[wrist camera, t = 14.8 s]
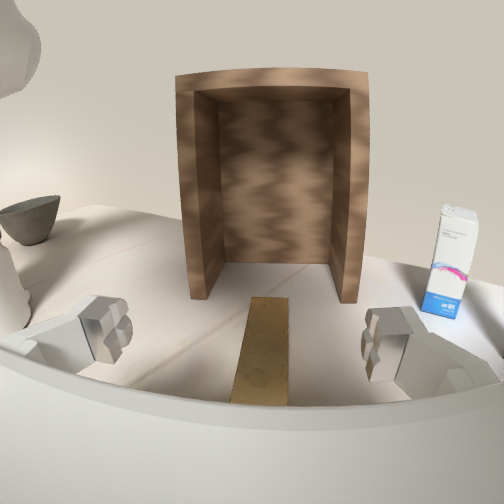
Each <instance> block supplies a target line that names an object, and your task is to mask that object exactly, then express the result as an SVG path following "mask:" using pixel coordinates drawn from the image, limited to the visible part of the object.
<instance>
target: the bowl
mask: <svg viewBox="0 0 504 504" xmlns="http://www.w3.org/2000/svg"><path fill="white" fill-rule="evenodd" d="M59 203H60V196H56V195H55V196H46V197H39V198H35V199H31V200H27V201H24V202H20V203H17V204H14V205H12V206H9V207H7V208H5V209H2V210H1V211H0V224H1V225H2V227H3V229H4V230H5V231H6V232H7V234H8V235H9V236H10V237H12V238H13V239H14V240H15V241H17V242H19V243H21V244H24V245H33V244H37V243H39V242H41V241H43V240H44V239H45V238H46V237H47V236H48V235H49V233H50V231H51V230H52V227H53V225H54V222H55V219H56V215H57V211H58V207H59Z"/></svg>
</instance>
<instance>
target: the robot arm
mask: <svg viewBox="0 0 504 504" xmlns="http://www.w3.org/2000/svg"><path fill="white" fill-rule="evenodd" d="M40 54H41V42H40V37H39V34H38V32H37V30H36V29H35V27H34V26H33V25H32V24H31V23H30V22H29V21H27V20H26V19H25V18H24V17H23V16H22V14H21V13H20V12H19V10H18V9H17V7H16V4H15V2H14V0H0V99H1V98H4V97H6V96H9V95H11V94H13V93H16V92H18V91H21V90H22V89H23V88H24V87H25V86H26V85H27V84H28V83H29V81H30V80H31V78H32V77H33V75H34V73H35V71H36V69H37V66H38V63H39V59H40ZM1 237H2V236H1V231H0V239H1ZM30 297H31V295H30V293H29V291H28V290H27V289H23V287H22V285H21V282H20V279H19V277H18V274H17V271H16V269H15V266H14V263H13V260H12V257H11V254H10V252H9V250H8V248H6V247H5V246H3V245H2V244H1V242H0V504H504V381H503V382H499V380H498V378H497V377H496V375H495V374H494V372H493V371H492V369H491V368H490V366H489V365H488V363H487V362H486V361H484V360H482V359H480V358H478V357H477V356H475V355H473V354H471V353H469V352H467V351H466V350H464V349H462V348H460V347H458V346H456V345H455V344H453V343H451V342H449V341H447V340H445V339H444V338H442V337H440V336H438V335H436V334H434V333H429V332H428V331H427V329H426V328H425V326H424V324H423V323H422V321H421V320H420V318H419V316H418V315H417V313H416V312H415V310H414V309H413V307H411V306H407V307H392V308H372V309H368V310H367V313H366V318H365V321H366V324H367V328H366V329H365V330H364V331H363V334H362V339H361V352H362V357H363V359H364V360H365V361H366V362H367V364H366V372H367V375H368V379H369V382H389V381H395V382H394V383H396V384H397V385H398V386H399V387H400V388H401V389H402V390H403V391H404V392H405V393H406V394H407V395H408V396H409V397H411V398H412V399H413V400H406V401H398V402H389V403H378V404H365V405H349V406H316V407H298V406H265V405H248V404H235V403H224V402H214V401H205V400H197V399H190V398H183V397H176V396H170V395H164V394H158V393H153V392H147V391H142V390H137V389H133V388H128V387H123V386H119V385H115V384H110V383H106V382H102V381H98V380H94V379H91V378H87V377H83V376H80V375H76V373H78V372H80V371H81V370H83V369H84V368H86V367H87V366H89V365H91V364H92V363H94V362H95V361H98V362H103V363H109V364H115V363H116V361H117V360H118V358H119V357H120V356H121V354H122V348H123V347H125V346H127V345H128V344H129V343H130V341H131V339H132V335H133V326H132V322H131V320H130V319H129V318H128V316H127V315H126V314H127V312H128V306H127V302H126V301H125V300H124V299H122V298H114V297H106V296H99V295H87V296H86V297H85V298H84V299H83V300H81V301H80V302H79V303H78V304H77V305H76V306H75V307H74V308H73V309H71V310H70V311H69V312H68V313H67V314H66V315H60V316H57V317H55V318H52V319H49V320H46V321H44V322H41V323H38V324H36V325H33V326H30V327H28V328H25V329H23V328H24V327H25V325H26V324H27V322H28V321H29V319H30V316H31V309H30V306H29V304H28V303H29V300H30Z"/></svg>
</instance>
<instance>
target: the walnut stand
mask: <svg viewBox="0 0 504 504" xmlns="http://www.w3.org/2000/svg"><path fill="white" fill-rule="evenodd" d="M175 85H176V86H175V87H176V127H177V151H178V169H179V183H180V197H181V211H182V222H183V233H184V243H185V253H186V262H187V271H188V280H189V288H190V296H191V299H200V300H207V298H208V296H209V294H210V292H211V290H212V288H213V286H214V284H215V282H216V280H217V278H218V276H219V274H220V272H221V270H222V268H223V266H224V264H225V262H251V263H307V264H329V266H330V269H331V272H332V276H333V279H334V282H335V286H336V289H337V293H338V296H339V299H340V303H357V298H358V291H359V284H360V276H361V268H362V259H363V250H364V240H365V229H366V216H367V202H368V183H369V151H370V150H369V149H370V117H369V86H368V72H359V71H350V70H337V69H321V68H250V69H234V70H221V71H211V72H202V73H193V74H186V75H179V76H175Z"/></svg>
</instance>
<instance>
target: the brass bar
mask: <svg viewBox="0 0 504 504" xmlns="http://www.w3.org/2000/svg"><path fill="white" fill-rule="evenodd" d="M230 403H235V404H248V405H265V406H288V298H277V297H252V299H251V304H250V309H249V314H248V319H247V323H246V328H245V333H244V338H243V342H242V347H241V352H240V357H239V361H238V366H237V371H236V375H235V380H234V385H233V389H232V394H231V399H230Z"/></svg>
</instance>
